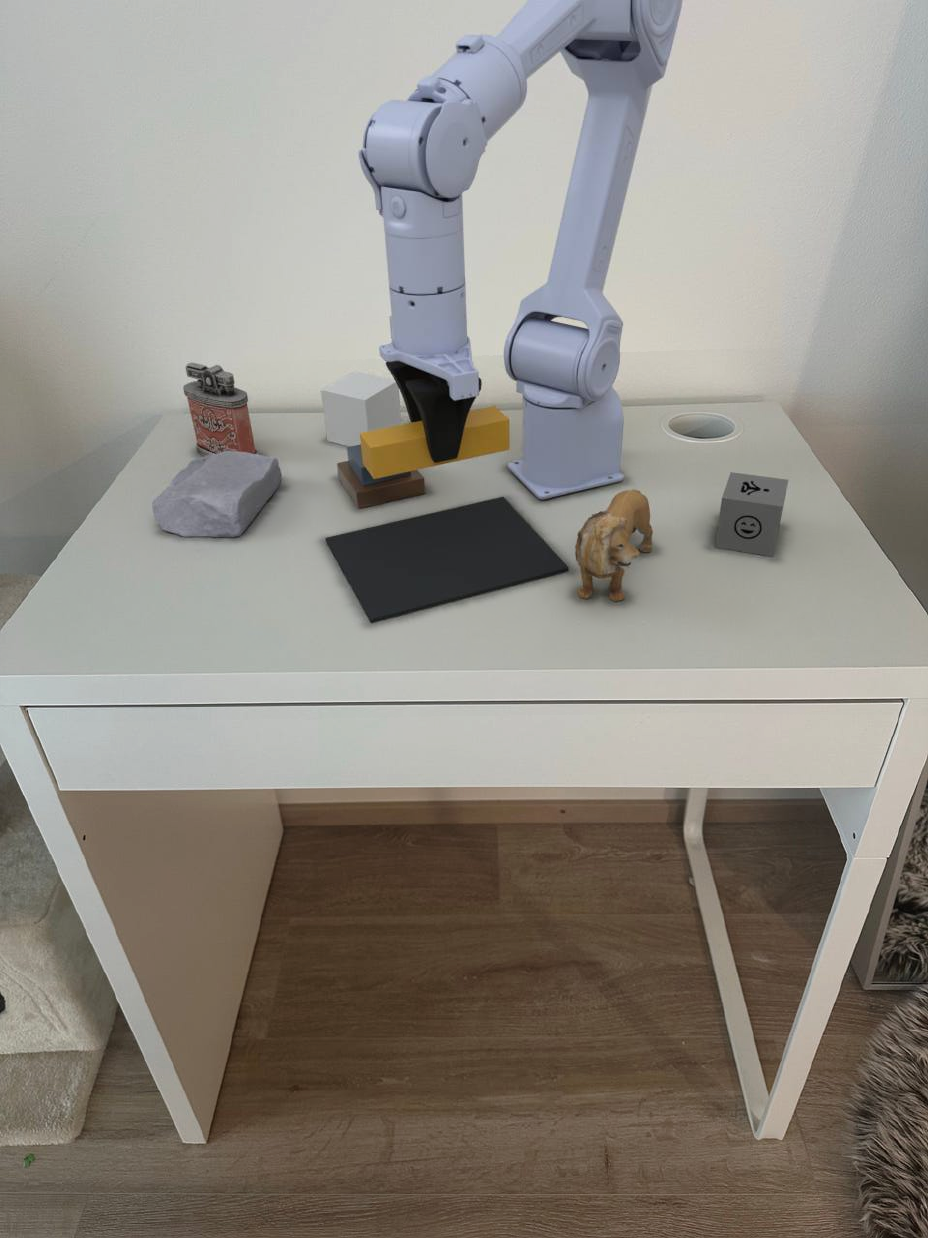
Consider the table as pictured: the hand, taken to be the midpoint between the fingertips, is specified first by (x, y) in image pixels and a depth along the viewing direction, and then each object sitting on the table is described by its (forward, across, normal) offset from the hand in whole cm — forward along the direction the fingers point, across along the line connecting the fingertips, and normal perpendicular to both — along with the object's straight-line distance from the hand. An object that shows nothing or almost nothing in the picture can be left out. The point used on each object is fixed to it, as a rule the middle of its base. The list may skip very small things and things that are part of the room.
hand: (437, 449), depth 78 cm
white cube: (+11, -27, +1) cm, 29 cm away
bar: (+1, 0, 0) cm, 1 cm away
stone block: (+11, -18, -17) cm, 27 cm away
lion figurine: (+11, +10, +12) cm, 19 cm away
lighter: (+11, -29, -14) cm, 34 cm away
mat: (+10, 0, 0) cm, 10 cm away
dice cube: (+11, +9, +26) cm, 29 cm away
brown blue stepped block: (+10, -15, -1) cm, 18 cm away
